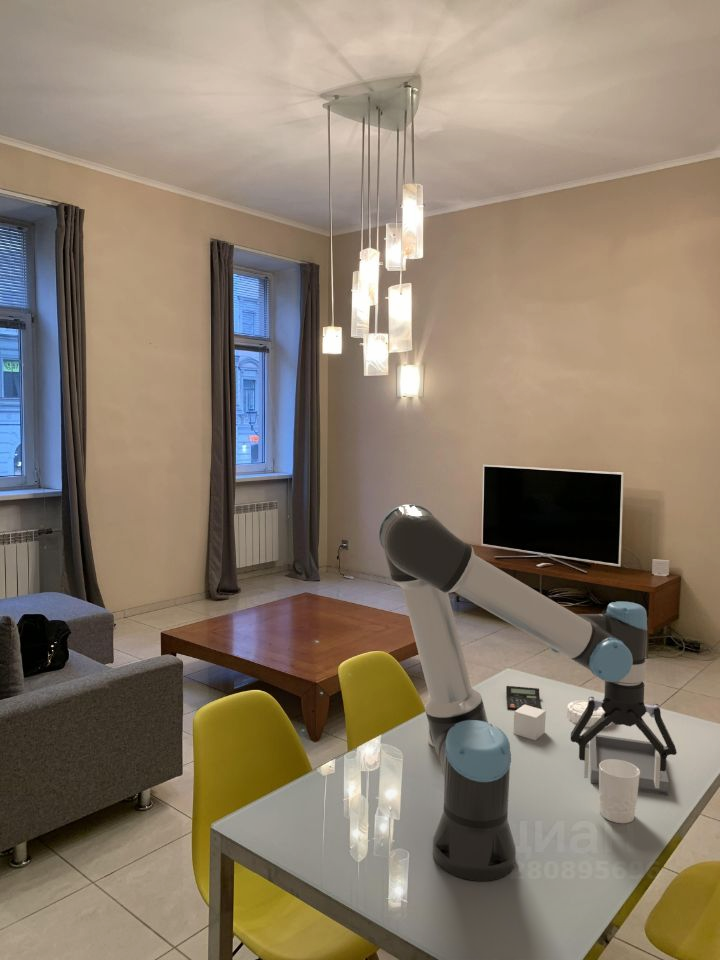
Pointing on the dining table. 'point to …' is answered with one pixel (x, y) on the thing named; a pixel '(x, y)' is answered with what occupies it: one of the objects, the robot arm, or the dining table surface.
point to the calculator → (522, 697)
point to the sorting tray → (628, 760)
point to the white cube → (529, 722)
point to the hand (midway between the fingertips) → (620, 780)
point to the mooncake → (578, 708)
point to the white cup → (618, 790)
